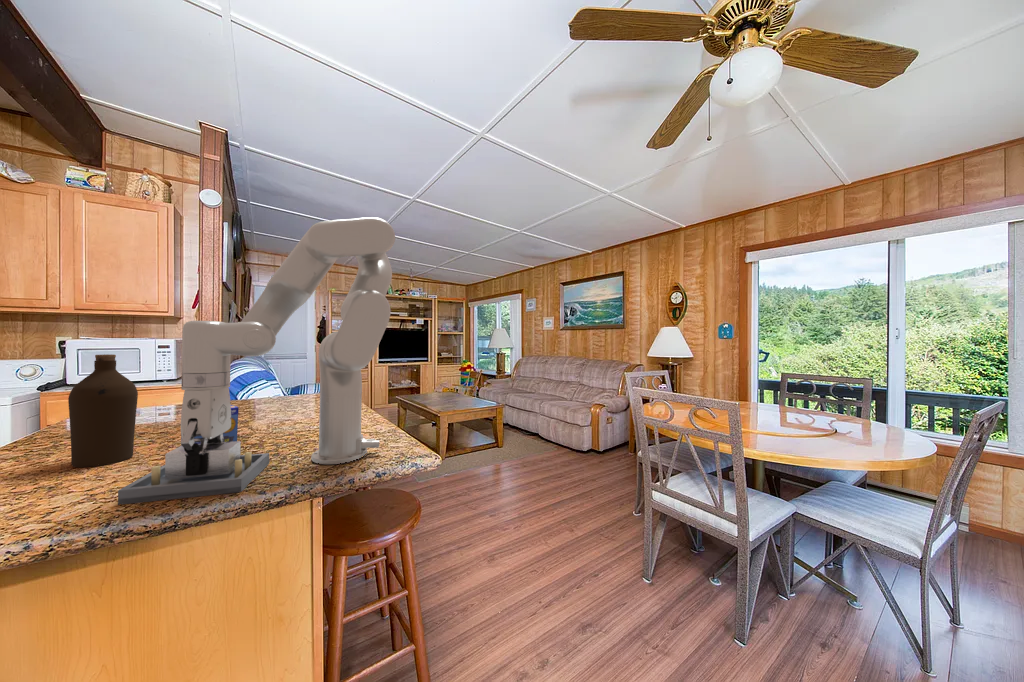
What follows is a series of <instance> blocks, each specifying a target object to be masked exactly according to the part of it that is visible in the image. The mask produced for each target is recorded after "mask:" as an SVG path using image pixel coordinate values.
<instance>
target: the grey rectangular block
mask: <svg viewBox="0 0 1024 682" xmlns="http://www.w3.org/2000/svg"><path fill="white" fill-rule="evenodd" d="M198 445H199V447H200V445H201V444H198ZM205 453H208V457H207V473H206V474H204V475H193V476H186V456H185V450H184V447H183V446H181V445H180V446H178V447H176V448H174V449H173V450H171V451H168V452H167V453H165V455H164V456H165V464H164V465H165V480H170V479H181V478H191V477H202V476H212V475H223V474H229V473H230V472H231V471H232V470H234V469H235V460H238V459H240V455H241V440H237V441H234V442H219V443H207V445H206V450H205Z"/></svg>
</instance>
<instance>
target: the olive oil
mask: <svg viewBox="0 0 1024 682" xmlns="http://www.w3.org/2000/svg"><path fill="white" fill-rule="evenodd" d="M116 357H117V356H116V354H109V353H108V354H105V353H104V354H95V360H94V361H93V362H94V363H93V365H94V370H93V372H91V373H90V374H89V375H87V376H86V377H85V378H83V379H82V380H80V381H79V382H78V383H76V384H75V385H74V386H73V387H72V388H71V390H70V393H69V395H68V399H67V401H68V402H67V403H68V414H69V415H68V417H69V429H70V430H69V433H70V455H71V456H70V458H71V462H70V463H71V467H75V468H91V467H99V466H100V467H101V466H105V465H110V464H115V463H120V462H122V461H126V460H129V459H130V458H132V457H133V456H134V446H135V445H134V444H135V428H136V418H137V408H138V407H137V406H138V400H139V399H138V397H139V391H138V388H137V386H136V385H135V383H134V382H133V381H131V380H130V379H129V378H127V377H126V376H125V375H123V374H122V373H120V372H119V371H118V370H117V360H116Z"/></svg>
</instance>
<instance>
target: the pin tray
mask: <svg viewBox="0 0 1024 682" xmlns="http://www.w3.org/2000/svg"><path fill="white" fill-rule="evenodd" d="M269 464H270V452H268V453H267V452H266V453H254V454H253V453H252V451H246V452H244V454H240V459H238V460H235V469H234V470H232V471H231V472H230V473H229V474H223V475H212V476H202V477H191V478H181V479H170V480H165V464H164V465H162V466H161V465H154V466H152V467H151V472H149V473H148V474H145V475H143V476H142V477H140V478H138V479H136V480H135V481H133V482H130V483H129V484H127V485H126V486H123V487H122V488H120V489H118V490H117V506H118V505H120V504H121V505H127V504H128V505H129V504H139V503H148V502H156V501H157V502H158V501H168V500H176V499H187V498H195V497H198V498H199V497H203V496H204V497H205V496H215V495H226V494H236V493H242V492H243V491H244V490H245V489H246V488H247V487H248V486H249V485H250V484H249V483H250V482H251V481H252V480H253V481H254V480H255V479H256V478H257V477H258V475H259V474H261V472H263V470H264V469H266V467H268V465H269ZM253 481H252V482H253ZM252 482H251V483H252ZM248 484H249V485H248ZM247 485H248V486H247Z"/></svg>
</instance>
